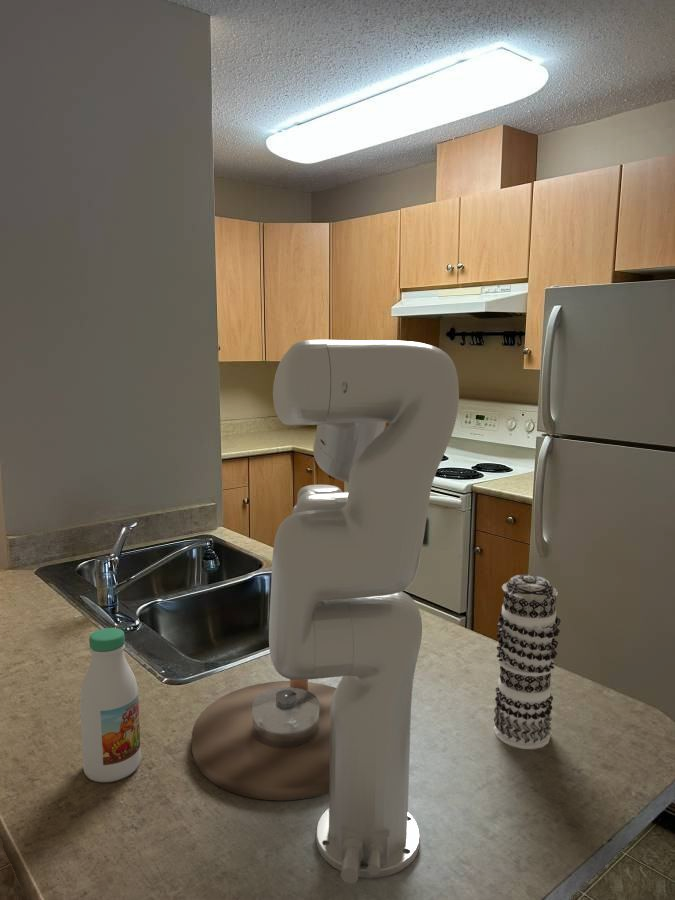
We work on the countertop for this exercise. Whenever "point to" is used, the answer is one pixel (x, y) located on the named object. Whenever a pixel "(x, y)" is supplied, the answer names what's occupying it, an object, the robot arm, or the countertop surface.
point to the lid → (285, 717)
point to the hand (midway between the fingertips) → (320, 669)
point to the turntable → (261, 748)
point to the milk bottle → (109, 710)
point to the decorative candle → (526, 662)
